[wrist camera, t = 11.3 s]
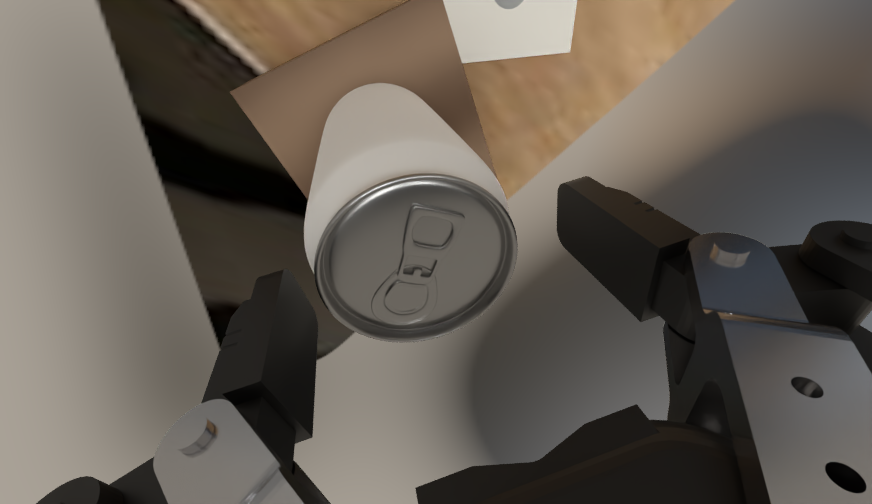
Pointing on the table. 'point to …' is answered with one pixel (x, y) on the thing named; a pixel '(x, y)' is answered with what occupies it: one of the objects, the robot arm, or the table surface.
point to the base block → (362, 83)
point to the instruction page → (510, 28)
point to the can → (404, 220)
